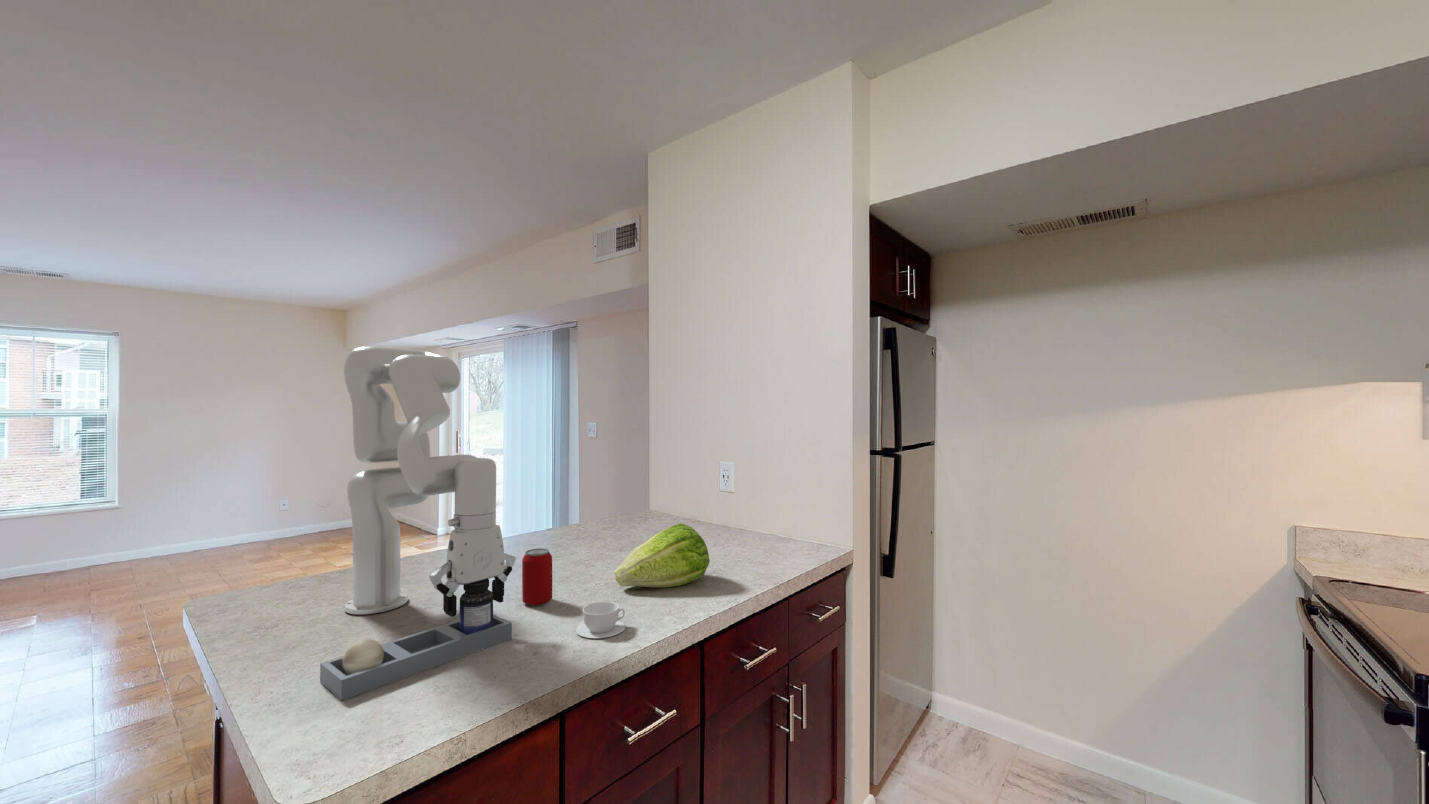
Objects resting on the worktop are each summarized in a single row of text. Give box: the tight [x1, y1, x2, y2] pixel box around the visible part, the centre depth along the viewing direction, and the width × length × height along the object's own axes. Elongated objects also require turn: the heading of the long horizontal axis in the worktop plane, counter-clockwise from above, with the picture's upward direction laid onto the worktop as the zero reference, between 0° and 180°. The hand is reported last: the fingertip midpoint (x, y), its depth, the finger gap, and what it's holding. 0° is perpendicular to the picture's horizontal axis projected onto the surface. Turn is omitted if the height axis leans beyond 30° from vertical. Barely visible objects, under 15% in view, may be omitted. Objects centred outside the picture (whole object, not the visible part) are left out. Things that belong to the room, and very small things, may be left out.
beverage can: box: [521, 547, 553, 607], centre depth 132 cm, size 7×7×12 cm
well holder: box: [319, 614, 513, 701], centre depth 102 cm, size 10×30×3 cm, turn 142°
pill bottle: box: [459, 578, 494, 635], centre depth 110 cm, size 6×6×11 cm
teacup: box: [575, 601, 627, 639], centre depth 115 cm, size 10×10×5 cm
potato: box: [342, 638, 384, 675], centre depth 95 cm, size 6×6×6 cm
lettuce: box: [613, 522, 711, 588], centre depth 145 cm, size 15×24×16 cm
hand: (474, 607), depth 111 cm, fingers open, 9 cm apart
